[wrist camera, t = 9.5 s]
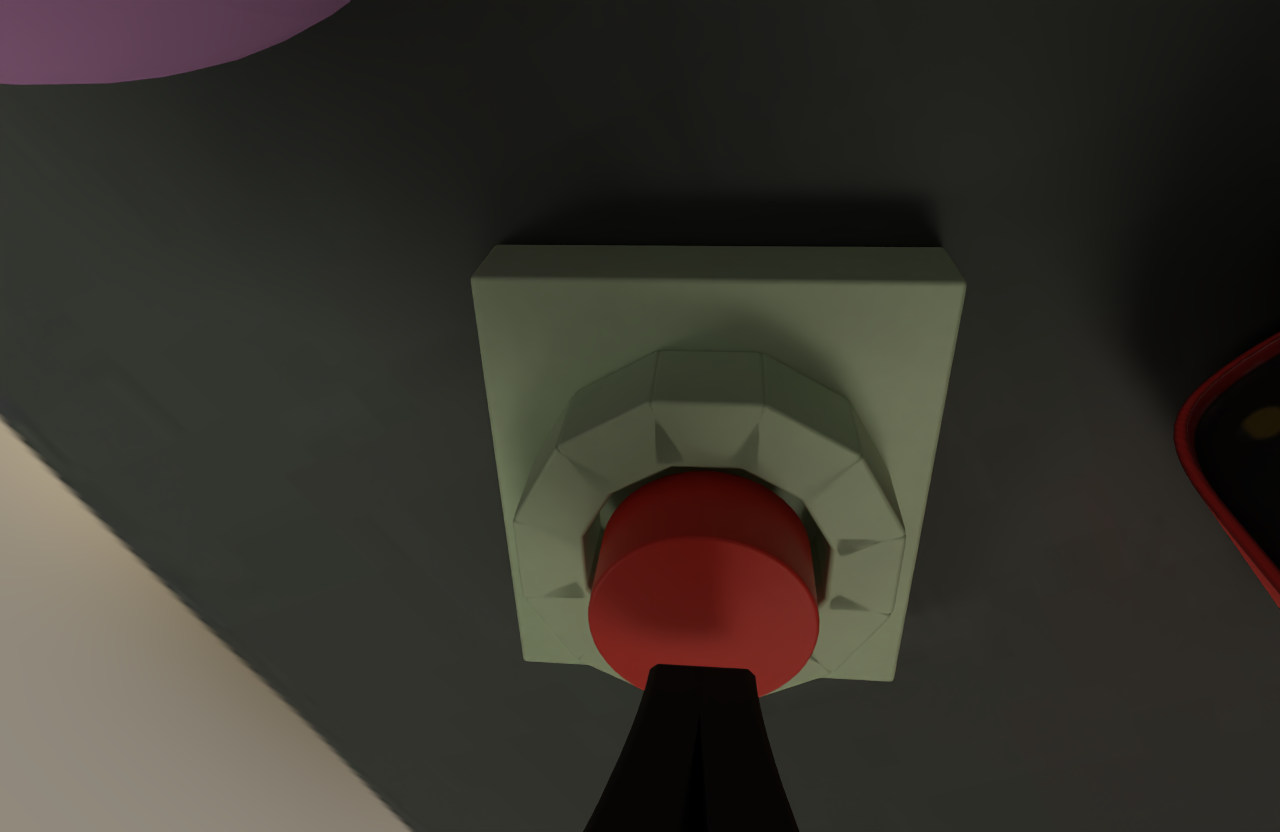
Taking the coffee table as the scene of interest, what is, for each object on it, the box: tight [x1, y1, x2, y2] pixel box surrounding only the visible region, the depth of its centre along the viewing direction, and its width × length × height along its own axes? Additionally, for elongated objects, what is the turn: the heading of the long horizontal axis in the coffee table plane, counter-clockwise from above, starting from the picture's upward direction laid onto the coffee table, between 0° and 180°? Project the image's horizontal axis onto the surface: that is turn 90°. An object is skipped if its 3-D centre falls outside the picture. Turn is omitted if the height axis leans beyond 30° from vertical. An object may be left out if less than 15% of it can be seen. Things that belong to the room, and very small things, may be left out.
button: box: [588, 471, 820, 697], centre depth 14 cm, size 4×4×2 cm
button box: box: [471, 245, 967, 697], centre depth 15 cm, size 8×9×4 cm
